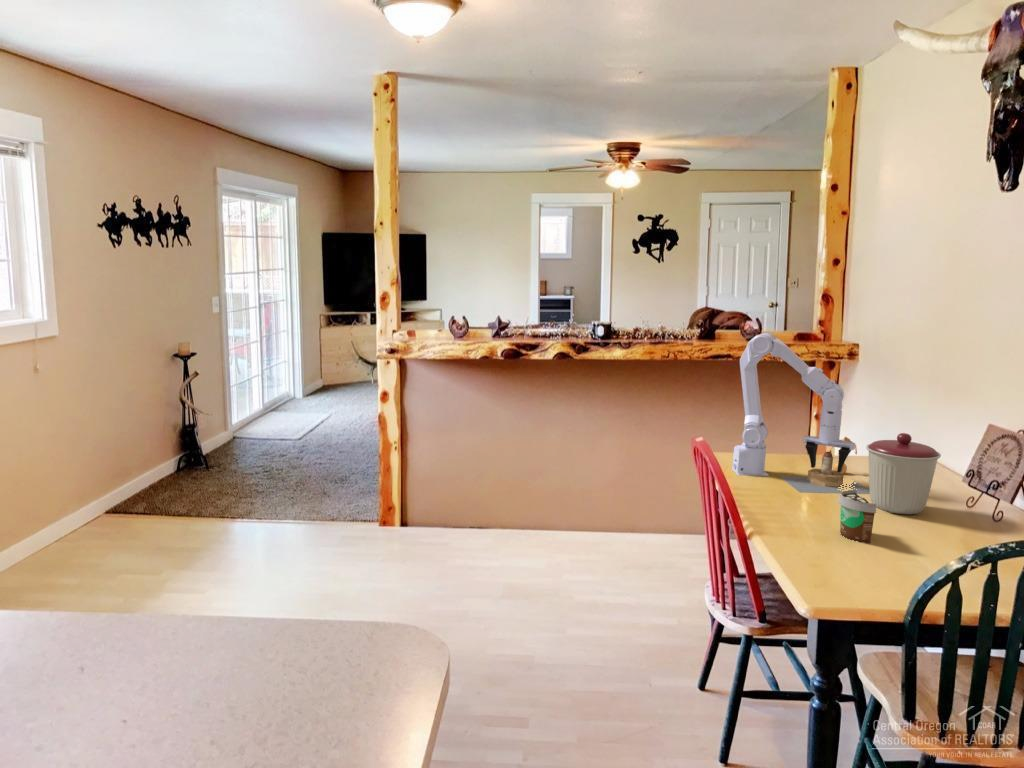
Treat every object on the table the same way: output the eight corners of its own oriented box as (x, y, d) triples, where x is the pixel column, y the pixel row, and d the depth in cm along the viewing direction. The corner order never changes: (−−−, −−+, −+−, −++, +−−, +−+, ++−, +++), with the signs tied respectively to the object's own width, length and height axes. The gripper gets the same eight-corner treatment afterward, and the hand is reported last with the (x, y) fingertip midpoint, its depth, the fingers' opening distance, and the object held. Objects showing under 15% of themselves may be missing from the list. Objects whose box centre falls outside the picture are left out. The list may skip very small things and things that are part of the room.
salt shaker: (822, 483, 237) (825, 452, 235) (818, 480, 240) (821, 450, 238) (831, 483, 237) (835, 453, 235) (827, 480, 240) (831, 450, 238)
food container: (827, 527, 198) (830, 488, 197) (852, 528, 198) (855, 489, 197) (846, 544, 186) (850, 503, 185) (872, 545, 186) (876, 504, 184)
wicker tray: (815, 486, 234) (816, 476, 234) (804, 477, 243) (805, 468, 243) (846, 486, 234) (847, 477, 234) (833, 478, 243) (834, 469, 243)
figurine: (823, 472, 252) (827, 435, 250) (832, 469, 256) (836, 433, 254) (849, 478, 246) (853, 440, 244) (858, 475, 250) (861, 438, 248)
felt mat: (799, 493, 227) (799, 492, 227) (779, 477, 244) (779, 476, 244) (875, 495, 227) (875, 494, 227) (849, 479, 244) (850, 478, 244)
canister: (868, 495, 228) (875, 423, 224) (938, 507, 217) (947, 432, 214) (853, 510, 213) (861, 433, 210) (928, 524, 203) (937, 444, 199)
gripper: (801, 423, 237) (797, 467, 239) (852, 430, 229) (848, 476, 231) (808, 420, 243) (804, 463, 245) (858, 427, 234) (854, 471, 236)
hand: (826, 469), depth 238 cm, fingers open, 7 cm apart
